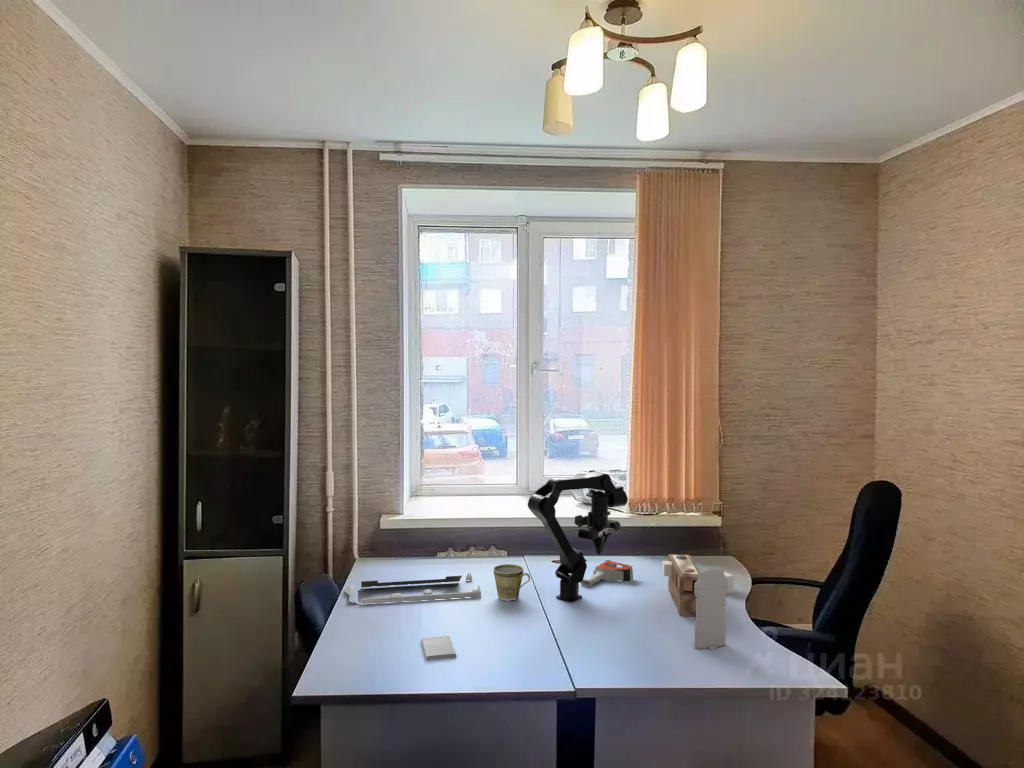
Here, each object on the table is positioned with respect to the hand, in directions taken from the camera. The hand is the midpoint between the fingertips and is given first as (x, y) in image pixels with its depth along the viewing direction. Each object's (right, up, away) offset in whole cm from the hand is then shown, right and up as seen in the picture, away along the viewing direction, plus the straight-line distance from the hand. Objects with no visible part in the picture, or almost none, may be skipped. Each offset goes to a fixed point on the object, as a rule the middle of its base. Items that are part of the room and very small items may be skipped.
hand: (599, 553), depth 236 cm
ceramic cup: (-30, -13, -7) cm, 34 cm away
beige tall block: (+26, -15, -44) cm, 53 cm away
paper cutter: (-64, -13, -2) cm, 65 cm away
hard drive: (-50, -15, -47) cm, 70 cm away
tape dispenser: (+4, -13, +13) cm, 19 cm away
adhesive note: (+42, -14, +2) cm, 45 cm away
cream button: (+24, -6, -3) cm, 24 cm away
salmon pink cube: (+25, -7, -17) cm, 31 cm away
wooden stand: (+27, -14, -10) cm, 32 cm away
